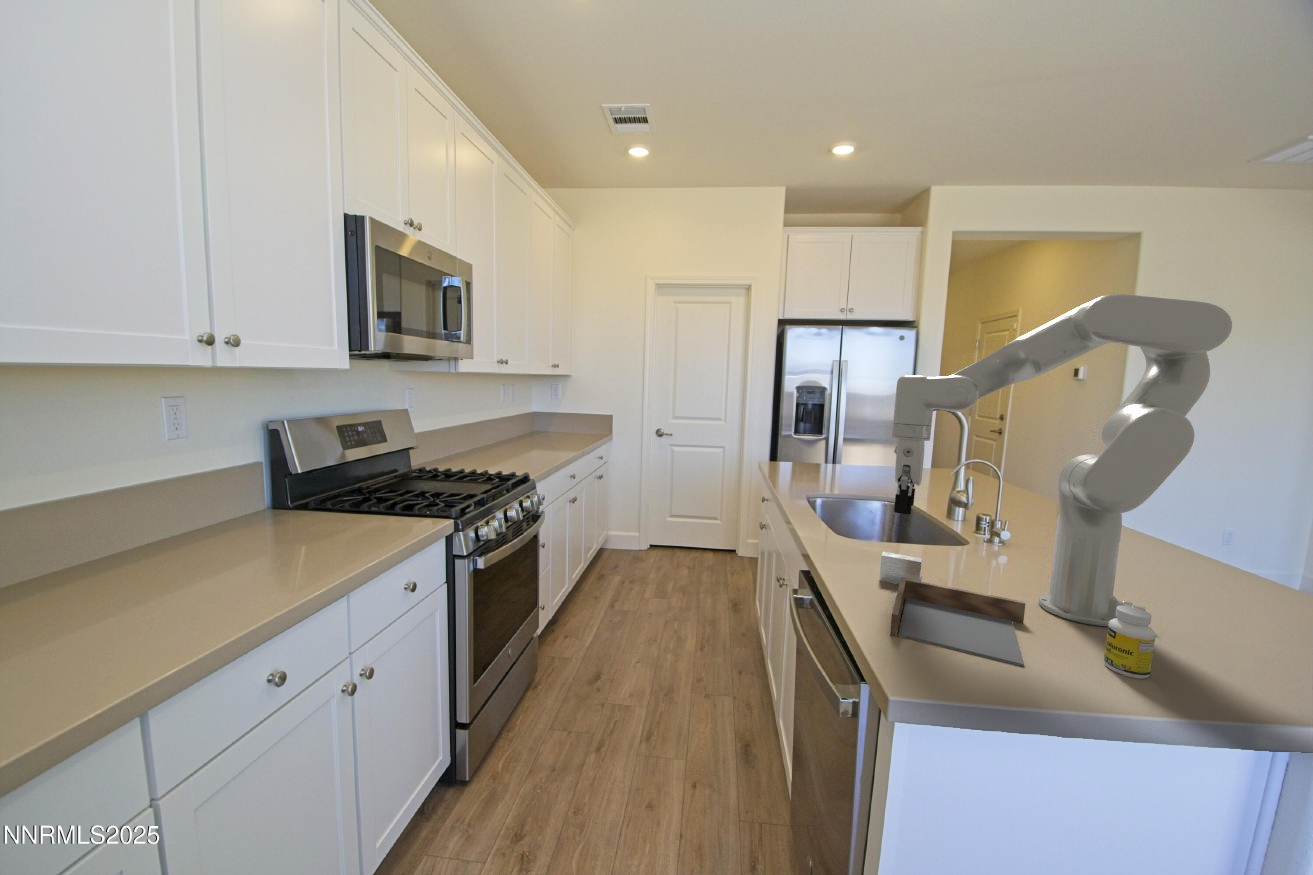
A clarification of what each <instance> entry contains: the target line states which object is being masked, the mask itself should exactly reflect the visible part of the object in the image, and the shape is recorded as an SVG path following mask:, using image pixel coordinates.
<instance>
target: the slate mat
mask: <svg viewBox="0 0 1313 875" xmlns="http://www.w3.org/2000/svg"><path fill="white" fill-rule="evenodd" d="M901 616H902V617H901V619H900V621H901V622H900V624H899V629H898V636H899V637H901V638H907V639H910V640H913V641H914V640H915V641H919V642H922V643H926V644H931V645H935V646H939V647H943V648H946V649H950V650H955V651H960V652H963V653H968V654H970V655H975V656H979V657H983V658H987V659H991V660H996V661H999V662H1004V663H1008V664H1011V665H1016V666H1019V667H1025V663H1024V659H1023V656H1022V651H1021V647H1020V645H1019V640H1018V637H1017V633H1016V629H1015V626H1014V622H1012V620H1009V619H1004V618H999V617H994V616H990V615H985V614H980V613H975V612H971V611H966V610H961V609H957V608H952V607H947V606H942V605H938V604H933V603H928V602H923V601H919V600H914V599H909V598H906V599H905V600H904V605H903V610H902V614H901Z"/></svg>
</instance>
